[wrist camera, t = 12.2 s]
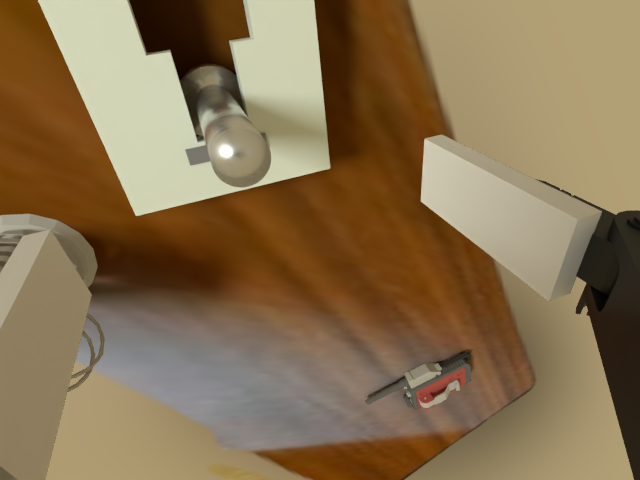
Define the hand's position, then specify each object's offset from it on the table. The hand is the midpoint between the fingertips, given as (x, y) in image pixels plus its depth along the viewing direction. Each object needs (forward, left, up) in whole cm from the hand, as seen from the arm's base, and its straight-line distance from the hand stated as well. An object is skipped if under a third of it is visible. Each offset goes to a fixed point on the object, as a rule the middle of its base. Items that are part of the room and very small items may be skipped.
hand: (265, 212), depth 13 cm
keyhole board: (-4, 0, -21) cm, 22 cm away
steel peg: (0, 0, -21) cm, 21 cm away
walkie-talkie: (+52, +22, -22) cm, 60 cm away
